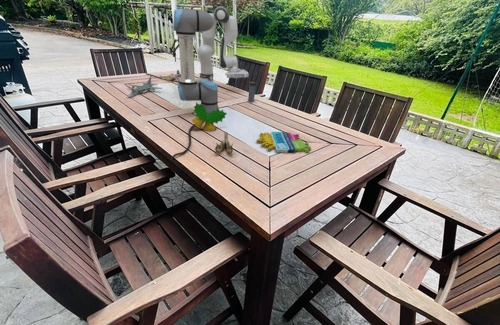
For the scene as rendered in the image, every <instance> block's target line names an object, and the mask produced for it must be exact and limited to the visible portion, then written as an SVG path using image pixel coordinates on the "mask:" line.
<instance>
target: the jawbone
mask: <svg viewBox="0 0 500 325" xmlns="http://www.w3.org/2000/svg"><path fill="white" fill-rule="evenodd" d="M223 135H224V136H223V140H222V139H221V142H220V144H218V142H215V144H216V146H215V148H214V149H215V152H214V154H215V155H217V156H218V155H220V153H221V152H223V151H224V150H226V152H227V153H228V155H229V156H233V155H234V154H233V153H234V148H233V144H234V143H230V140H228V139H229V138H228V137H229V136H228V135H229V133H228V131H226V132H224V134H223Z"/></svg>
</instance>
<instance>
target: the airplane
mask: <svg viewBox="0 0 500 325" xmlns="http://www.w3.org/2000/svg"><path fill="white" fill-rule="evenodd" d="M158 85H159V84H158V83H152V76H151V75H149V78H148V80H147V82H142V85H138V84H137V85H136V84H129V83H128V84H127V86H129V87H131V88H130V90H131V92H130V93H129V94H128V95H127V98H133V97H135V96H137V95H139V94H145V93H147V92H150V91H151V93H152V92H154V91H155V90H156V89H159V90H160V89H162V87H155V86H158Z"/></svg>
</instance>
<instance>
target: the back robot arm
mask: <svg viewBox="0 0 500 325" xmlns="http://www.w3.org/2000/svg"><path fill="white" fill-rule="evenodd" d="M208 13H209V14H210V15H211V16H212V17H213V20H214V24H213V27H212V28H211V29H210V30H207V31H204V32H201V33H202V34H201V38H202V45H200V46H198V48H197V50H196V51H197V56H198V58H199V62H200V63H199V64H200V73H198V75H199V77H198V78H197V79H196V80H197V83H200V81H201V80H207V81H212V82H215V81H214V66H213V62H212V57H213V56H214V55H215V53H216V48H215V47H216V46H215V37H216V30H217V23H218V22H219V23H222V24H224V35H223V36H222V37H221V41H220V50H219V58H218V65H219V67H220V68H222V69H226V68H227V72H225V73H224V74H225V76H226V78H228V79H238V78H244V79H245V78H249V75H250V74H249V72H248V71H247V70H246V69H244V68H240V59H239V57H238V56H237V55H227V56H226V48H227V46H228V45H229V44H231V43H233V42H234V41H236V40H237V38H238V35H239V34H238V32H239V31H238V28H239V27H238V20H237V17H235V16H234V15H229V13H228V11H227V8H225V7H224V6H222V5H221V6H218V7H216V8H215V9H214V11H213V12H212V13H211V12H208ZM145 75H148V76H151V77H155V78H157V79H160V80H165V79H166V78H163V77H162V78H160V76H157V75H153V74H151V73H147V72H145ZM165 81H166V80H165ZM169 82H175V83H179V80H174V79H171V80H170V81H169Z"/></svg>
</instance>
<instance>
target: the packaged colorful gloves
mask: <svg viewBox="0 0 500 325" xmlns="http://www.w3.org/2000/svg"><path fill="white" fill-rule="evenodd" d="M299 136H300V135H299V134H298V133H296V134H294V133H291V132H287V131H270V132H264V133H263V132H260V133H259V139H258V138H257V139H256V143H257V144H261V148H263V147H264V148H265V149H267V151H268V152H271V151H272V150H273V149H275V152H276V153H283V154H285V153H287V154H288V153H290V154H293V153H296V152H298V153H301V152H305V153H310V151H311V150H312V149H311V148H312V146H309V142H304V141H303V139H302V138H299Z"/></svg>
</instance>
